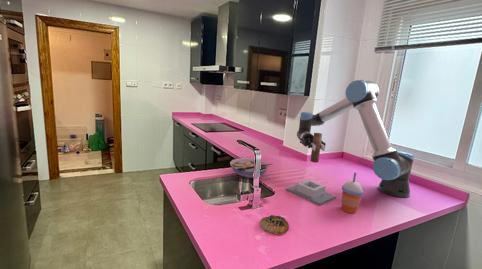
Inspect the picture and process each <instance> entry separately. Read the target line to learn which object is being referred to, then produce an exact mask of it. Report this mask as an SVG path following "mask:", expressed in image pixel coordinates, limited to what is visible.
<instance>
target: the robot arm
mask: <svg viewBox="0 0 482 269" xmlns="http://www.w3.org/2000/svg"><path fill="white" fill-rule="evenodd" d="M379 94H380V88H379V86H378V84H376V82H374V81H370V80H364V79H358V80H357V79H355V80H353V81H351V82H350V83H348V84H347V86H346V89H345V98H343V99H342V100H340V101H338V102H335V104H332V105H331V106H328V107H326V108H325V109H323V110H322V111H319V112H317V113H316V114H313V112H311V111H302V112H300V116H299V125H298V130H297V131H296V137H297V139H298V140H299V143H300V144H302V145H303V146H304V147H307V149H311V150H312V149H313V150H315V148H316V145H314V144H313V137H314V134H313V133H311V129H312V127H316V126H317V127H318V126H323V125H324V124H325V123H326V122H328V121H330V120H332V119H334V118H337V117H338V116H340V115H342V114H344V113H346V112H348V111H350V110H353V109H355V110H358V114H359V116H360V118H361V122H362V124H363V127H364V129H365V132H366V135H367V138H368V141H369V143H370V145H371V148H372V152H373V154H372V156H371V157H372V160H373V164H372V170H373V173H374V174H375V175H376V176H377V177H378V178H379V179H380V181H379V184H378V187H377V188H378V190H379V191H381V192H382V193H384V194H387V195H388V196H393V197H397V198H409V197H410V196H411V188H410V177H411V173H412V172H411V171H412V168H413V162H414V154H412V153H409V152H407V151H401V150H397V149H396V148H394V147H392V144H391V141H390V139H389V136H388V133H387V131H386V128H385V126H384V123H383V121H382V119H381V115H380V114H379V111H378V108H377V105H376V103H377V102H378V100H377V99H378V96H379ZM325 149H326V142H324V141H323V139H321V147H320V151H322V152H326V151H325Z"/></svg>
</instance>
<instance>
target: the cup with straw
mask: <svg viewBox="0 0 482 269" xmlns="http://www.w3.org/2000/svg"><path fill="white" fill-rule="evenodd" d="M356 178H357V172H353V178H352V180H348V181H347V182H345V183H344V184H343V185H342V186H341V190H342V193H341V210H342V211H344V212H345V213H348V214H356V213H357V210H358V208H359V206H360V203H361V200H362V199H361V198H362V195H364V193H365V191H364V189H363V187H362V185H361V184H360V183H359V182H357V181H356Z"/></svg>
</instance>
